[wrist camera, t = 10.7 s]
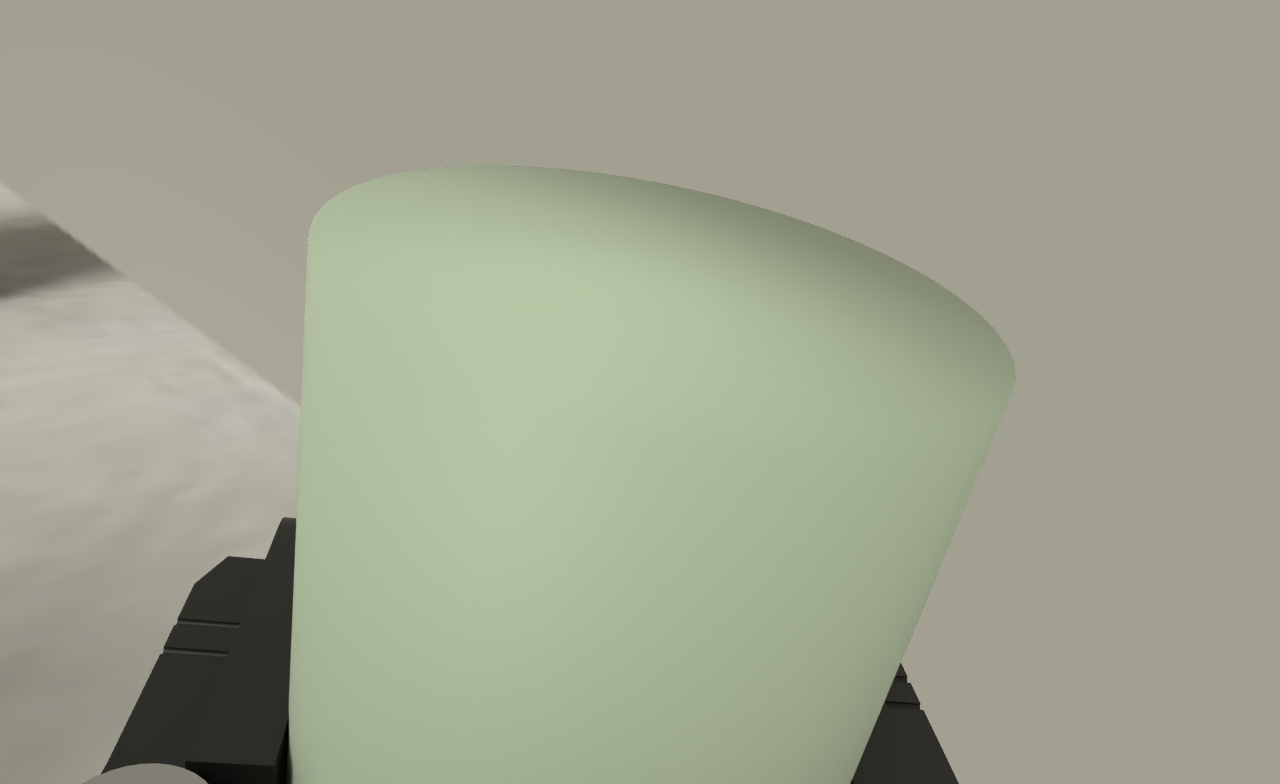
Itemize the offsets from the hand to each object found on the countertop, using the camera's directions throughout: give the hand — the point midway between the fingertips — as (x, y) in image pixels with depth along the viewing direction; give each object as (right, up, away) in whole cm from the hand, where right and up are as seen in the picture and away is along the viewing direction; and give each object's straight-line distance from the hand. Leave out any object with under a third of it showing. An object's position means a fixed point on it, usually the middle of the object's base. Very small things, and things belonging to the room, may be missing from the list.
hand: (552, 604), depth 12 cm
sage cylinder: (-1, -7, +1) cm, 7 cm away
